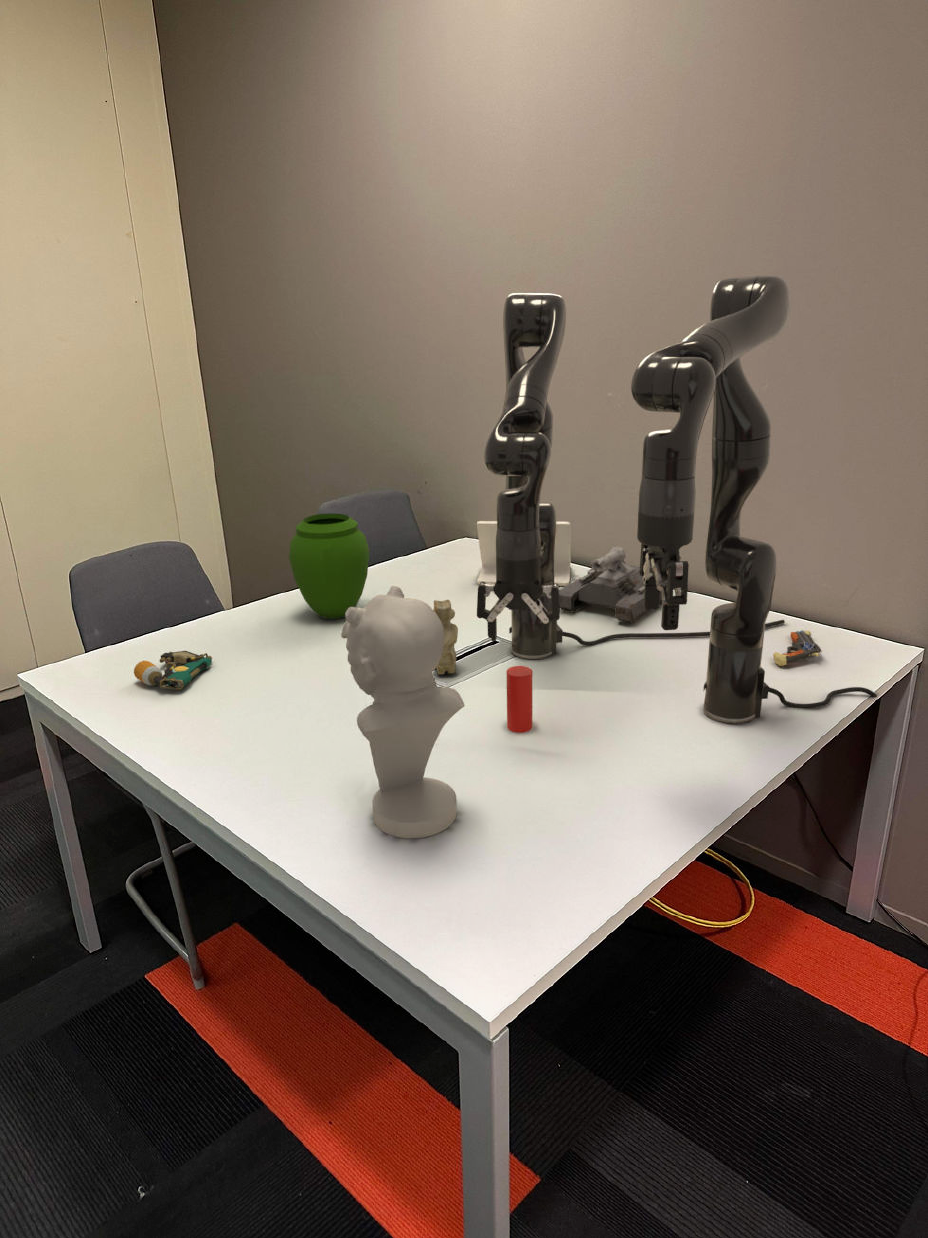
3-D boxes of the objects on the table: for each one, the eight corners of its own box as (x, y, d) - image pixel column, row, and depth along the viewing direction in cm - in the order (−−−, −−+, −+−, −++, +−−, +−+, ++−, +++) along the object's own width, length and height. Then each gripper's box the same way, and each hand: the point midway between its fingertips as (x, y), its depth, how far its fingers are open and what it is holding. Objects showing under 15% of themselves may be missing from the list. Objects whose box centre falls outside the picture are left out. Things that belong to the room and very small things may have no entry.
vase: (389, 608, 216) (383, 514, 208) (339, 633, 201) (330, 533, 192) (330, 596, 226) (322, 506, 218) (278, 619, 211) (267, 523, 202)
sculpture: (458, 662, 183) (456, 596, 178) (460, 676, 176) (457, 608, 171) (431, 663, 183) (428, 597, 177) (431, 677, 176) (428, 609, 171)
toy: (603, 584, 229) (605, 530, 224) (673, 597, 218) (677, 540, 213) (555, 612, 210) (556, 553, 205) (630, 627, 199) (633, 566, 194)
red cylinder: (515, 735, 152) (515, 678, 148) (502, 725, 156) (501, 669, 152) (537, 728, 154) (537, 672, 151) (523, 718, 158) (523, 663, 154)
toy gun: (776, 657, 175) (828, 653, 173) (763, 629, 193) (810, 626, 191) (777, 669, 176) (828, 666, 174) (763, 640, 194) (810, 637, 191)
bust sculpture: (415, 752, 147) (404, 557, 135) (484, 821, 127) (478, 600, 115) (327, 777, 140) (307, 574, 128) (385, 855, 120) (368, 623, 108)
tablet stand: (569, 585, 229) (570, 524, 223) (476, 584, 232) (475, 523, 226) (570, 566, 246) (571, 508, 240) (484, 564, 249) (483, 507, 243)
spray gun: (177, 659, 191) (231, 671, 185) (120, 684, 176) (176, 698, 171) (176, 641, 190) (230, 653, 184) (118, 665, 175) (174, 678, 169)
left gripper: (473, 557, 141) (475, 647, 147) (559, 559, 139) (558, 650, 145) (478, 544, 148) (480, 631, 154) (561, 545, 146) (560, 633, 152)
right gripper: (711, 519, 111) (702, 635, 116) (676, 495, 124) (669, 600, 130) (655, 522, 110) (648, 638, 116) (625, 498, 123) (621, 603, 129)
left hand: (518, 640), depth 149 cm, fingers open, 8 cm apart
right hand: (660, 618), depth 123 cm, fingers open, 8 cm apart
